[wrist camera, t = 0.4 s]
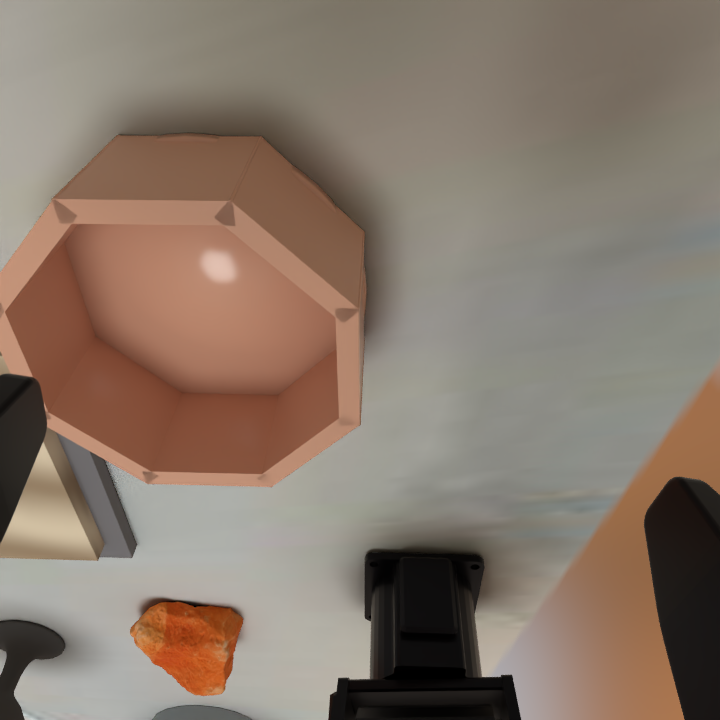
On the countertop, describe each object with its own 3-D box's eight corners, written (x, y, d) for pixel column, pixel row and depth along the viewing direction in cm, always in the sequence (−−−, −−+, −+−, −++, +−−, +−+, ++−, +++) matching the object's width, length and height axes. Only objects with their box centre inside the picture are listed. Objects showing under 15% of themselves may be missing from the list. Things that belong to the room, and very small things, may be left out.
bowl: (366, 401, 27) (362, 490, 23) (105, 395, 27) (58, 483, 24) (367, 134, 20) (361, 198, 16) (13, 131, 20) (-77, 194, 16)
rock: (98, 541, 36) (67, 609, 32) (305, 574, 37) (297, 643, 34) (104, 642, 43) (80, 706, 40) (278, 667, 44) (269, 731, 41)
